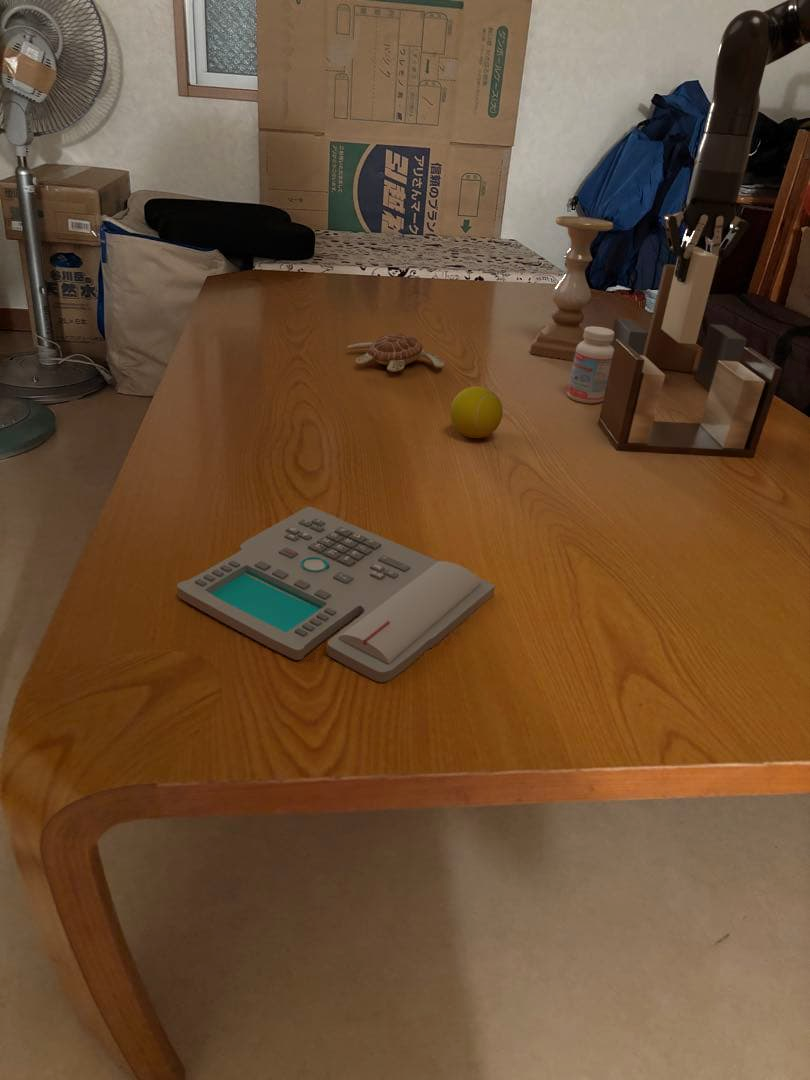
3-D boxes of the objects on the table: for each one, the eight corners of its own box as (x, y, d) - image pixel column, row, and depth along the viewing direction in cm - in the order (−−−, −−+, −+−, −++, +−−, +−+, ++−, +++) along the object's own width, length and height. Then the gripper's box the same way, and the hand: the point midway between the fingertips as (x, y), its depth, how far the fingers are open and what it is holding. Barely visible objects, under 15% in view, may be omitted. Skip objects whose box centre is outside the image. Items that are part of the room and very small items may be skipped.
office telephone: (499, 572, 73) (376, 680, 58) (495, 595, 74) (374, 706, 60) (309, 494, 83) (163, 569, 69) (308, 515, 85) (165, 593, 70)
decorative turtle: (459, 361, 140) (463, 334, 137) (423, 385, 126) (425, 355, 124) (370, 342, 146) (371, 316, 143) (326, 364, 132) (326, 335, 130)
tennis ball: (438, 432, 109) (443, 384, 106) (473, 423, 113) (479, 377, 110) (473, 449, 105) (479, 400, 101) (508, 439, 109) (515, 391, 105)
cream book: (677, 330, 137) (697, 246, 130) (696, 344, 129) (718, 256, 122) (660, 329, 137) (680, 245, 130) (678, 343, 129) (700, 255, 122)
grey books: (710, 379, 142) (725, 325, 137) (730, 396, 134) (747, 339, 129) (603, 373, 140) (615, 317, 135) (617, 389, 132) (630, 331, 127)
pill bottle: (559, 393, 128) (571, 325, 122) (588, 390, 131) (601, 324, 125) (582, 406, 123) (596, 336, 118) (612, 402, 126) (627, 334, 120)
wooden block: (689, 366, 148) (715, 269, 139) (691, 373, 144) (718, 273, 135) (641, 360, 149) (664, 263, 140) (642, 367, 146) (665, 267, 137)
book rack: (725, 431, 119) (750, 347, 112) (753, 457, 110) (782, 368, 103) (597, 424, 117) (616, 338, 111) (616, 450, 108) (637, 359, 102)
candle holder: (529, 354, 147) (550, 219, 135) (537, 340, 156) (558, 213, 144) (586, 363, 145) (613, 227, 133) (592, 348, 154) (617, 220, 142)
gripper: (684, 166, 116) (657, 284, 125) (774, 172, 117) (741, 289, 126) (667, 162, 123) (643, 274, 131) (752, 168, 124) (723, 280, 132)
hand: (691, 281), depth 128 cm, fingers closed on cream book, 3 cm apart
